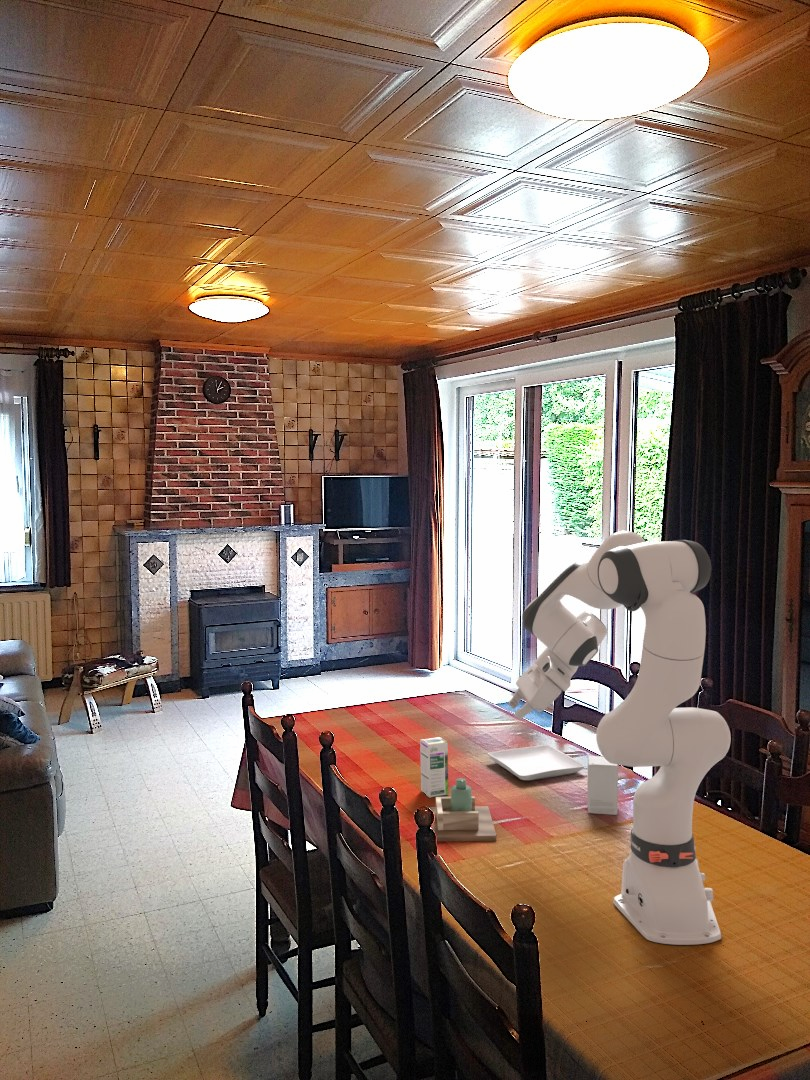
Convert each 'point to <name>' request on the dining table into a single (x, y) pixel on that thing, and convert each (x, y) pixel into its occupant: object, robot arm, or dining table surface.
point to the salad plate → (536, 762)
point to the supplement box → (602, 786)
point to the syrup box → (434, 766)
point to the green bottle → (461, 796)
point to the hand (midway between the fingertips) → (513, 711)
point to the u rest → (462, 822)
